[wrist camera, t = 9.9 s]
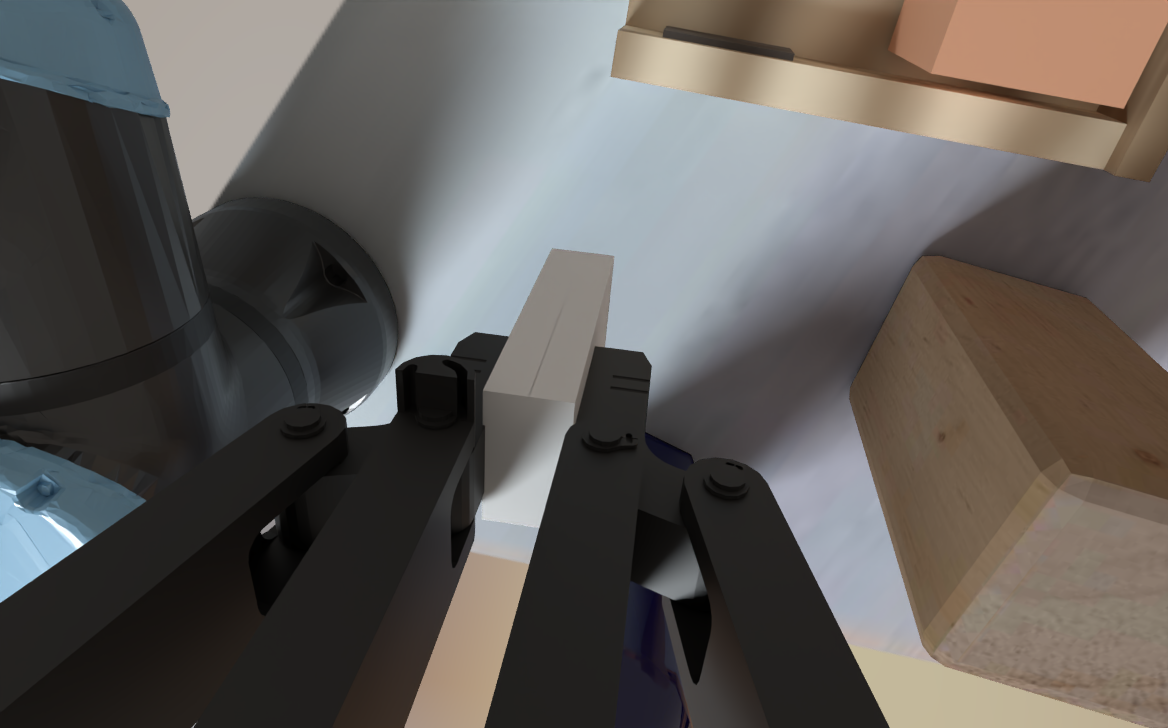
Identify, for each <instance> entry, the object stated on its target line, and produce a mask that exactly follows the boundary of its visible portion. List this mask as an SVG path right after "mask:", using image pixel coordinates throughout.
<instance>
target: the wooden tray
mask: <svg viewBox="0 0 1168 728" xmlns="http://www.w3.org/2000/svg"><path fill="white" fill-rule="evenodd" d="M903 3H904V0H629V6H628V12H627V18H626V25H625V26H623V27H622V28H621V29H619V30H618V34H617V40H616V46H615V53H614V59H613V65H612V71H611V77H615V78H620V79H625V80H631V81H636V82H641V83H647V84H652V85H657V86H663V87H668V88H673V89H678V90H684V91H689V92H694V93H700V94H705V95H710V96H715V97H721V98H726V99H731V100H737V101H742V102H747V103H753V104H758V105H763V106H768V107H774V108H779V109H784V110H790V111H795V112H800V113H805V114H811V115H816V116H821V117H827V118H832V119H837V120H843V121H848V122H853V123H858V124H864V125H869V126H874V127H880V128H885V129H890V130H895V131H901V132H906V133H911V134H917V135H922V136H927V137H933V138H938V139H943V140H948V141H954V142H959V143H964V144H970V145H975V146H980V147H985V148H991V149H996V150H1001V151H1007V152H1012V153H1017V154H1023V155H1028V156H1033V157H1038V158H1044V159H1049V160H1054V161H1060V162H1065V163H1070V164H1075V165H1081V166H1086V167H1091V168H1097V169H1102V170H1105V171H1107V172H1108V173H1110V174H1112V175H1114V176H1119V177H1124V178H1129V179H1135V180H1140V181H1145V182H1150V181H1151V179H1152V177H1153V175H1154V173H1155V172H1156V170H1157V168H1158V166H1159V164H1160V163H1161V161H1162V159H1163V157H1164V155H1165V154H1166V152H1167V150H1168V23H1167V25H1166V27H1165V29H1164V31H1163V33H1162V35H1161V37H1160V39H1159V40H1158V42H1157V44H1156V46H1155V48H1154V50H1153V52H1152V54H1151V56H1150V58H1149V60H1148V62H1147V64H1146V66H1145V68H1144V70H1143V72H1142V74H1141V76H1140V78H1139V80H1138V82H1137V84H1136V86H1135V87H1134V89H1133V91H1132V93H1131V95H1130V97H1129V99H1128V101H1127V103H1126V105H1125V107H1124V109H1122V108H1117V107H1111V106H1106V105H1100V104H1095V103H1090V102H1084V101H1079V100H1073V99H1068V98H1062V97H1057V96H1051V95H1046V94H1040V93H1035V92H1030V91H1024V90H1019V89H1013V88H1008V87H1002V86H997V85H991V84H986V83H980V82H975V81H970V80H964V79H959V78H953V77H948V76H942V75H937V74H931V73H929V72H927V71H926V70H924V69H922V68H920V67H918V66H916V65H915V64H913V63H911V62H909V61H907V60H905V59H904V58H902V57H900V56H898V55H896V54H894V53H892V52H891V51H889V50H888V47H889V44H890V42H891V39H892V36H893V33H894V30H895V27H896V24H897V21H898V18H899V15H900V12H901V9H902V6H903Z"/></svg>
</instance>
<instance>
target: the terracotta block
mask: <svg viewBox="0 0 1168 728" xmlns="http://www.w3.org/2000/svg"><path fill="white" fill-rule="evenodd" d="M1167 23H1168V0H904V3H903V6H902V9H901V12H900V15H899V18H898V21H897V24H896V27H895V30H894V33H893V36H892V39H891V42H890V44H889V47H888V50H889V51H891V52H892V53H894V54H896V55H898V56H900V57H902V58H904V59H905V60H907V61H909V62H911V63H913V64H915V65H916V66H918V67H920V68H922V69H924V70H926V71H927V72H929V73H931V74H937V75H942V76H948V77H953V78H959V79H964V80H970V81H975V82H980V83H986V84H991V85H997V86H1002V87H1008V88H1013V89H1019V90H1024V91H1030V92H1035V93H1040V94H1046V95H1051V96H1057V97H1062V98H1068V99H1073V100H1079V101H1084V102H1090V103H1095V104H1100V105H1106V106H1111V107H1117V108H1122V109H1124V107H1125V105H1126V103H1127V101H1128V99H1129V97H1130V95H1131V93H1132V91H1133V89H1134V87H1135V86H1136V84H1137V82H1138V80H1139V78H1140V76H1141V74H1142V72H1143V70H1144V68H1145V66H1146V64H1147V62H1148V60H1149V58H1150V56H1151V54H1152V52H1153V50H1154V48H1155V46H1156V44H1157V42H1158V40H1159V39H1160V37H1161V35H1162V33H1163V31H1164V29H1165V27H1166V25H1167Z"/></svg>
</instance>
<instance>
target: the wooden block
mask: <svg viewBox="0 0 1168 728" xmlns="http://www.w3.org/2000/svg"><path fill="white" fill-rule="evenodd" d="M850 403H851V406H852V410H853V413H854V416H855V420H856V423H857V426H858V430H859V433H860V436H861V440H862V443H863V447H864V450H865V453H866V457H867V460H868V463H869V467H870V470H871V474H872V477H873V480H874V484H875V487H876V490H877V494H878V497H879V500H880V504H881V507H882V511H883V514H884V517H885V521H886V524H887V527H888V531H889V534H890V538H891V541H892V544H893V548H894V551H895V554H896V558H897V561H898V564H899V568H900V571H901V575H902V578H903V581H904V585H905V588H906V591H907V595H908V598H909V602H910V605H911V608H912V612H913V615H914V618H915V622H916V625H917V628H918V632H919V635H920V639H921V642H922V645H923V647H924V648H925V649H926V651H927V652H928V653H929V655H930V656H931V657H932V658H933V659H935V660H936V661H938V662H939V663H941V664H942V665H944V666H945V667H949V668H952V669H955V670H958V671H962V672H965V673H968V674H972V675H975V676H979V677H982V678H985V679H989V680H992V681H995V682H999V683H1002V684H1005V685H1009V686H1012V687H1015V688H1019V689H1022V690H1026V691H1029V692H1032V693H1035V694H1039V695H1042V696H1045V697H1049V698H1052V699H1055V700H1059V701H1062V702H1066V703H1069V704H1072V705H1076V706H1079V707H1082V708H1085V709H1089V710H1092V711H1096V712H1099V713H1102V714H1105V715H1109V716H1113V717H1115V718H1119V719H1122V720H1125V721H1129V722H1132V723H1135V724H1139V725H1142V726H1145V727H1149V728H1168V372H1167V371H1166V370H1164V369H1163V368H1162V367H1161V366H1160V365H1159V364H1158V363H1157V362H1156V361H1155V360H1154V359H1153V358H1151V357H1150V356H1149V355H1148V354H1147V353H1146V352H1145V351H1144V350H1143V349H1142V348H1141V347H1140V346H1138V345H1137V344H1136V343H1135V342H1134V341H1133V340H1132V339H1131V338H1130V337H1129V336H1128V335H1127V334H1125V333H1124V332H1123V331H1122V330H1121V329H1120V328H1119V327H1118V326H1117V325H1116V324H1115V323H1114V322H1112V321H1111V320H1110V319H1109V318H1108V317H1107V316H1106V315H1105V314H1104V313H1103V312H1102V311H1101V310H1099V309H1098V308H1097V307H1096V306H1095V305H1094V304H1093V303H1092V302H1091V301H1089V300H1088V299H1087V298H1085V297H1081V296H1078V295H1074V294H1071V293H1067V292H1064V291H1060V290H1057V289H1054V288H1050V287H1047V286H1043V285H1040V284H1036V283H1033V282H1029V281H1026V280H1022V279H1019V278H1015V277H1012V276H1008V275H1005V274H1001V273H998V272H995V271H991V270H988V269H984V268H981V267H977V266H974V265H970V264H967V263H963V262H960V261H956V260H953V259H949V258H946V257H942V256H922V257H921V258H920V259H919V260H918V261H917V262H916V263H915V264H914V266H913V267H912V269H911V271H910V273H909V275H908V277H907V279H906V280H905V282H904V284H903V286H902V288H901V290H900V292H899V294H898V296H897V298H896V300H895V302H894V304H893V306H892V308H891V310H890V311H889V313H888V315H887V317H886V319H885V321H884V323H883V325H882V327H881V329H880V331H879V333H878V335H877V337H876V339H875V341H874V342H873V344H872V346H871V348H870V350H869V352H868V354H867V356H866V358H865V360H864V362H863V364H862V366H861V368H860V370H859V372H858V373H857V375H856V377H855V379H854V381H853V383H852V385H851V387H850Z"/></svg>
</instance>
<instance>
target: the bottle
mask: <svg viewBox="0 0 1168 728" xmlns="http://www.w3.org/2000/svg"><path fill="white" fill-rule="evenodd" d="M645 442H646V444H647V446H648V448H649V450H650V451H651V452H652V453H653V454H654V455H655V456H656V457H658V458H659V459H660V460H662V461H663V462H665V463H667V464H669V465H672V466H674V467H676V468H679V469H681V470H684V471H686V470H687V469H688V467H689V466H690V465H691V464H693V463H694V462H693V459H692V456H691V455H690V454H688V453H686V452H684V451H682V450H680V449H678V448H676V447H674V446H672V445H670V444H668V443H666V442H664V441H662V440H660V439H658V438H656V437H654V436H652V435H650V434H648V433H646V432H645ZM615 728H693V726H692V722H691V718H690V714H689V710H688V706H687V702H686V698H685V694H684V690H683V686H682V682H681V678H680V674H679V670H678V666H677V662H676V658H675V654H674V650H673V646H672V642H671V638H670V634H669V630H668V626H667V622H666V618H665V614H664V610H663V606H662V595H661V594H659V593H657V592H655V591H652V590H650V589H648V588H645V587H643V586H641V585H639V584H636V583H634V582H632V581H630V587H629V596H628V606H627V615H626V625H625V634H624V643H623V653H622V662H621V672H620V681H619V690H618V700H617V709H616V719H615Z"/></svg>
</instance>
